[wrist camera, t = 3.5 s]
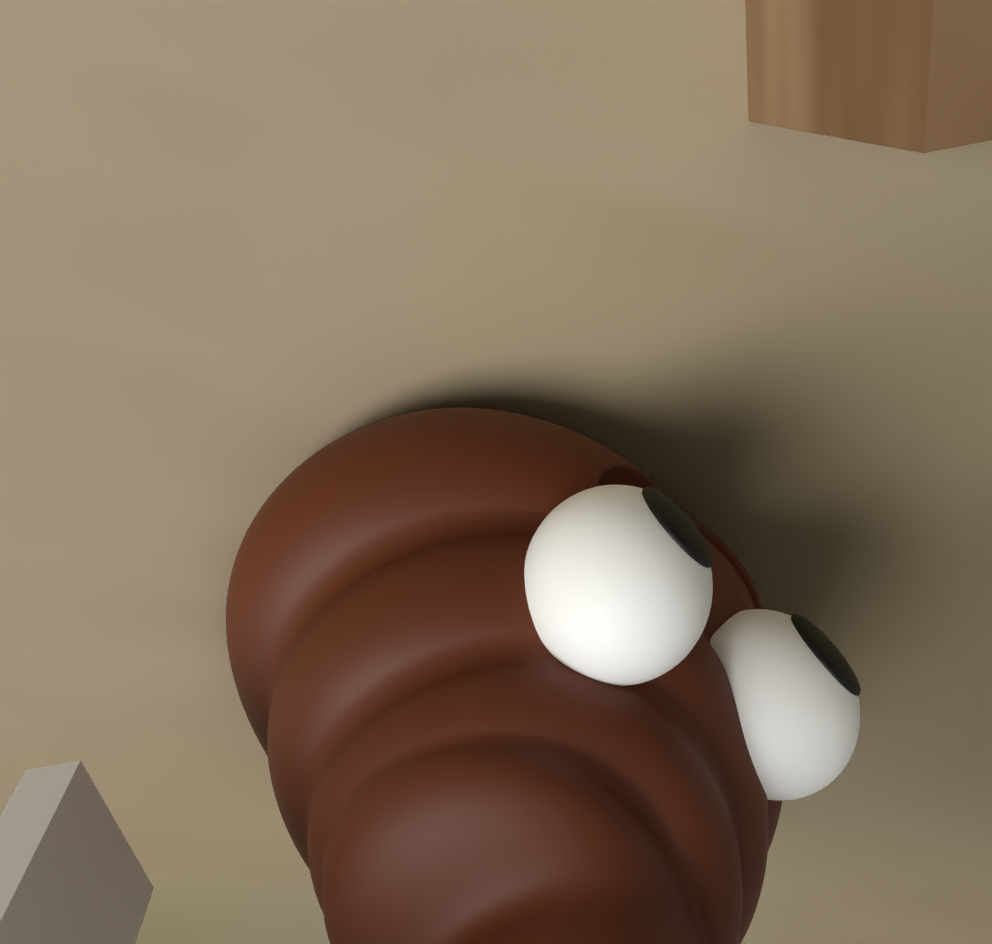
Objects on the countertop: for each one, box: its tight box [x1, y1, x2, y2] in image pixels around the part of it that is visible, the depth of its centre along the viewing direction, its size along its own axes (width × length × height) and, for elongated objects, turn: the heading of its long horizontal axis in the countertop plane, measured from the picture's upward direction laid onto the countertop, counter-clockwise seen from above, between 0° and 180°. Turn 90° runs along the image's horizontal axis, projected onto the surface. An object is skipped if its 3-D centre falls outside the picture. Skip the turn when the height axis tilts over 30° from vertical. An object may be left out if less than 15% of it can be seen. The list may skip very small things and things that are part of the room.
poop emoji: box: [226, 407, 860, 944], centre depth 11 cm, size 10×8×9 cm
